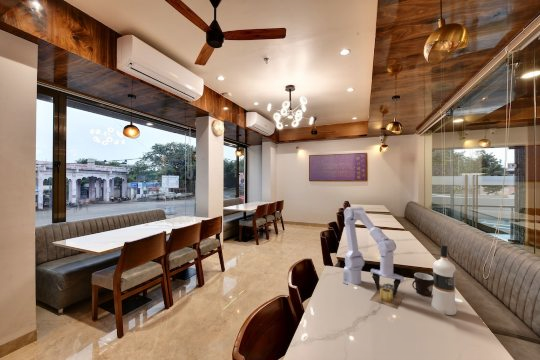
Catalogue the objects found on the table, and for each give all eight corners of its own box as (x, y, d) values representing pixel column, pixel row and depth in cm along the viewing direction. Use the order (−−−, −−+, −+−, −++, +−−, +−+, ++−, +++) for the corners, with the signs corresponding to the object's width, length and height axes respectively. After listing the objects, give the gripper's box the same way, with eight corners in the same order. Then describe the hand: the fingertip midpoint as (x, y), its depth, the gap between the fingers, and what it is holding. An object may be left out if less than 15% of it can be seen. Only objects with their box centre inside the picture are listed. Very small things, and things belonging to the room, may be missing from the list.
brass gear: (378, 299, 113) (378, 290, 113) (382, 295, 117) (382, 286, 117) (390, 303, 109) (390, 294, 109) (394, 299, 113) (394, 290, 113)
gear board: (369, 302, 113) (369, 291, 112) (380, 288, 126) (380, 278, 126) (397, 311, 105) (397, 299, 105) (405, 296, 119) (405, 285, 118)
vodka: (436, 302, 112) (437, 241, 112) (459, 311, 105) (460, 246, 104) (427, 308, 107) (428, 244, 107) (451, 318, 99) (452, 249, 99)
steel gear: (384, 296, 116) (384, 287, 116) (382, 291, 121) (382, 282, 121) (396, 298, 114) (396, 289, 114) (394, 292, 119) (394, 284, 119)
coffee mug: (427, 291, 123) (427, 273, 123) (437, 300, 114) (438, 280, 114) (404, 290, 124) (405, 272, 124) (413, 299, 116) (413, 279, 115)
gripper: (368, 263, 115) (368, 290, 115) (401, 270, 105) (401, 300, 105) (373, 259, 120) (372, 285, 120) (404, 266, 111) (404, 294, 111)
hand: (386, 291), depth 113 cm, fingers open, 7 cm apart
